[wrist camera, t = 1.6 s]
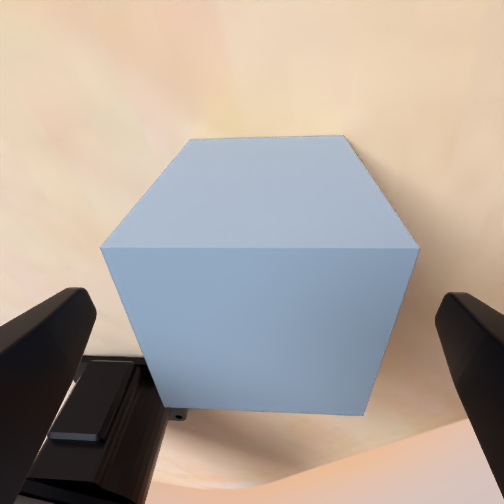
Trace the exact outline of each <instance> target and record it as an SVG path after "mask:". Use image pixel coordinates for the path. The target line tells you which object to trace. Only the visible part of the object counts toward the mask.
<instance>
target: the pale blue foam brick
mask: <svg viewBox="0 0 504 504" xmlns="http://www.w3.org/2000/svg"><path fill="white" fill-rule="evenodd" d="M100 249H101V252H102V254H103V257H104V259H105V262H106V264H107V266H108V269H109V271H110V274H111V276H112V279H113V281H114V284H115V286H116V289H117V291H118V294H119V296H120V299H121V301H122V304H123V306H124V309H125V311H126V313H127V316H128V318H129V321H130V323H131V326H132V328H133V331H134V333H135V336H136V338H137V341H138V343H139V346H140V348H141V351H142V353H143V356H144V358H145V360H146V363H147V365H148V368H149V370H150V373H151V375H152V378H153V380H154V383H155V385H156V388H157V390H158V393H159V395H160V398H161V400H162V403H163V405H164V407H172V408H194V409H217V410H239V411H261V412H284V413H306V414H329V415H351V416H363V415H364V412H365V409H366V406H367V403H368V400H369V397H370V394H371V391H372V388H373V385H374V383H375V380H376V377H377V374H378V371H379V368H380V365H381V362H382V359H383V356H384V353H385V350H386V347H387V344H388V341H389V338H390V335H391V332H392V329H393V327H394V324H395V321H396V318H397V315H398V312H399V309H400V306H401V303H402V300H403V297H404V294H405V291H406V288H407V285H408V282H409V279H410V276H411V274H412V271H413V268H414V265H415V262H416V259H417V256H418V253H419V250H420V248H419V246H418V245H417V243H416V242H415V240H414V239H413V237H412V236H411V234H410V233H409V231H408V230H407V228H406V227H405V226H404V224H403V223H402V221H401V220H400V218H399V217H398V215H397V214H396V212H395V211H394V209H393V208H392V206H391V205H390V203H389V202H388V200H387V199H386V197H385V196H384V195H383V193H382V192H381V190H380V189H379V187H378V186H377V184H376V183H375V181H374V180H373V178H372V177H371V175H370V174H369V172H368V171H367V169H366V168H365V166H364V165H363V164H362V162H361V161H360V159H359V158H358V156H357V155H356V153H355V152H354V150H353V149H352V147H351V146H350V144H349V143H348V141H347V140H346V138H345V137H344V135H342V136H303V137H264V138H225V139H190V140H189V142H188V143H187V144H186V145H185V146H184V147H183V149H182V150H181V151H180V152H179V153H178V155H177V156H176V157H175V158H174V159H173V161H172V162H171V163H170V164H169V165H168V167H167V168H166V169H165V170H164V171H163V173H162V174H161V175H160V176H159V177H158V179H157V180H156V181H155V182H154V183H153V185H152V186H151V187H150V188H149V189H148V191H147V192H146V193H145V194H144V195H143V197H142V198H141V199H140V200H139V201H138V203H137V204H136V205H135V206H134V207H133V209H132V210H131V211H130V212H129V213H128V215H127V216H126V217H125V218H124V219H123V221H122V222H121V223H120V224H119V225H118V227H117V228H116V229H115V230H114V231H113V233H112V234H111V235H110V236H109V237H108V238H107V240H106V241H105V242H104V243H103V244H102V246H101V247H100Z"/></svg>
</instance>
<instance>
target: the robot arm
mask: <svg viewBox="0 0 504 504" xmlns="http://www.w3.org/2000/svg"><path fill="white" fill-rule="evenodd" d="M96 315H97V312H96V308H95V306H94V304H93V302H92V300H91V298H90V296H89V294H88V292H87V290H86V289H84V288H79V287H70V288H66V289H64V290H62V291H61V292H59V293H57V294H56V295H54V296H52V297H50V298H49V299H47V300H45V301H44V302H42V303H40V304H38V305H37V306H35V307H33V308H31V309H30V310H28V311H26V312H25V313H23V314H21V315H19V316H18V317H16V318H14V319H12V320H11V321H9V322H7V323H6V324H4V325H2V326H0V504H145V500H146V497H147V494H148V490H149V487H150V483H151V480H152V476H153V472H154V469H155V465H156V462H157V458H158V455H159V451H160V448H161V444H162V441H163V437H164V433H165V430H166V426H167V423H168V420H176V421H183V420H185V419H186V416H187V409H186V408H172V407H164V405H163V403H162V400H161V398H160V395H159V393H158V390H157V388H156V385H155V383H154V380H153V378H152V375H151V373H150V370H149V368H148V365H147V363H146V360H145V358H115V357H84V356H83V353H84V351H85V348H86V345H87V342H88V339H89V337H90V334H91V331H92V328H93V325H94V323H95V320H96ZM435 325H436V329H437V332H438V335H439V338H440V341H441V345H442V348H443V351H444V354H445V357H446V361H447V364H448V367H449V370H450V373H451V376H452V379H453V382H454V385H455V387H456V390H457V392H458V395H459V397H460V399H461V402H462V404H463V406H464V409H465V411H466V413H467V416H468V418H469V420H470V422H471V424H472V427H473V429H474V432H475V434H476V436H477V438H478V441H479V443H480V445H481V448H482V450H483V452H484V454H485V457H486V459H487V461H488V463H489V466H490V468H491V471H492V473H493V475H494V477H495V480H496V482H497V484H498V487H499V489H500V491H501V493H502V496H503V498H504V315H503V314H501V313H499V312H498V311H496V310H494V309H493V308H491V307H490V306H488V305H486V304H485V303H483V302H481V301H480V300H478V299H477V298H475V297H473V296H472V295H470V294H468V293H465V292H449V293H447V294H446V295H445V296H444V298H443V300H442V302H441V305H440V307H439V309H438V311H437V314H436V316H435ZM73 380H74V382H75V383H76V384H75V386H74V387H73V389H72V391H71V393H70V394H69V396H68V398H67V400H66V401H65V403H64V405H63V406H62V408H61V410H60V412H59V413H58V415H57V417H56V414H57V412H58V410H59V408H60V406H61V404H62V402H63V400H64V398H65V396H66V394H67V391H68V389H69V387H70V385H71V383H72V381H73ZM55 417H56V419H55ZM54 419H55V420H54ZM53 421H54V422H53ZM52 423H53V424H52ZM46 435H47V439H46V441H45V442H44V440H45V437H46ZM43 442H44V444H43ZM42 444H43V446H42ZM41 446H42V448H41ZM40 448H41V449H40ZM39 450H40V451H39ZM38 452H39V453H38ZM37 454H38V455H37Z"/></svg>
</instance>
